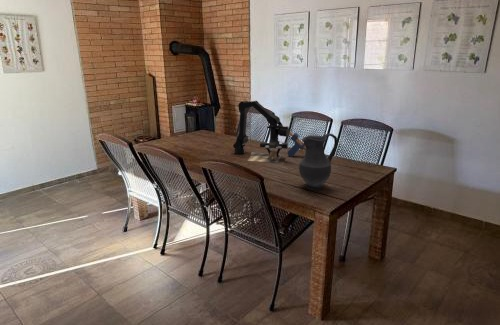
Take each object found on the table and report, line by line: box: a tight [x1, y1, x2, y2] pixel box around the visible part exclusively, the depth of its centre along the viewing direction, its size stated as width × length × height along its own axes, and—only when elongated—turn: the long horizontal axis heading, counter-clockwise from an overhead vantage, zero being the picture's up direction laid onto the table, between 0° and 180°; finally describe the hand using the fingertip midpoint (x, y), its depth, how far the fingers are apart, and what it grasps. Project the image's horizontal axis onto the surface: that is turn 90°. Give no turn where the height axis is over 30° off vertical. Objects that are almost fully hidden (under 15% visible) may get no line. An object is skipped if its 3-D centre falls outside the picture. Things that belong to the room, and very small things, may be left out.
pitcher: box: [298, 132, 339, 191], centre depth 187 cm, size 17×21×30 cm
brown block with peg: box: [270, 149, 278, 160], centre depth 237 cm, size 4×10×5 cm, turn 168°
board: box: [247, 152, 281, 164], centre depth 239 cm, size 21×14×4 cm, turn 78°
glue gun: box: [287, 131, 306, 158], centre depth 246 cm, size 6×31×15 cm
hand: (273, 157), depth 238 cm, fingers closed on brown block with peg, 4 cm apart
